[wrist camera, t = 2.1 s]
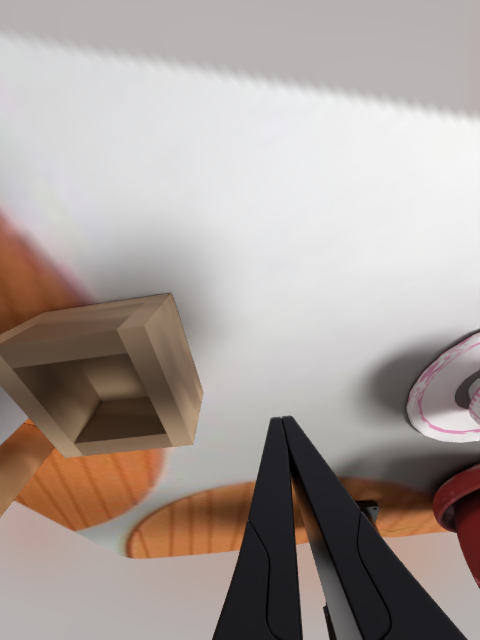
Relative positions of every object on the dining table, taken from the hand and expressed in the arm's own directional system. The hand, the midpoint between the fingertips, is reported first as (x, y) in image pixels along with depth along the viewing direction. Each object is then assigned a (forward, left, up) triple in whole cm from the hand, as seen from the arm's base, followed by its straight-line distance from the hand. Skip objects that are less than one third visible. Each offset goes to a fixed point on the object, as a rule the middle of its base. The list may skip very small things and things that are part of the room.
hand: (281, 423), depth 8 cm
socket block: (0, +9, -6) cm, 11 cm away
